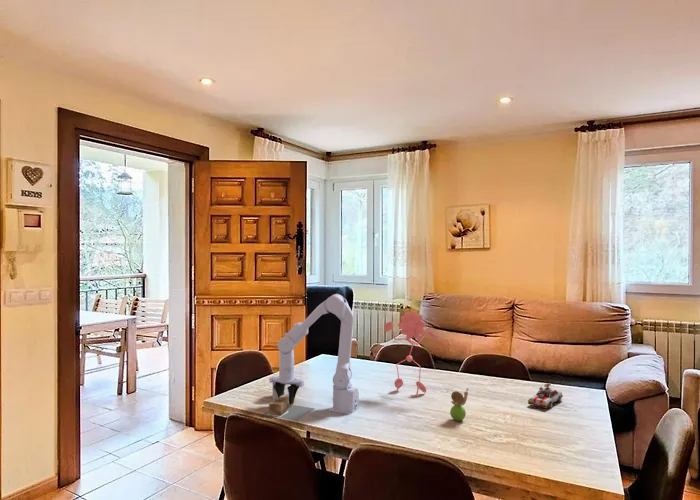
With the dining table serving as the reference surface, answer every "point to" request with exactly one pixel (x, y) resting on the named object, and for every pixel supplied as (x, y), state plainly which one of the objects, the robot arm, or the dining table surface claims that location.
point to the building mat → (293, 413)
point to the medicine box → (276, 392)
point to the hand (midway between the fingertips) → (286, 402)
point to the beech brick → (286, 398)
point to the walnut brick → (278, 407)
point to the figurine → (410, 328)
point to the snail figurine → (458, 405)
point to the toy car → (546, 397)
